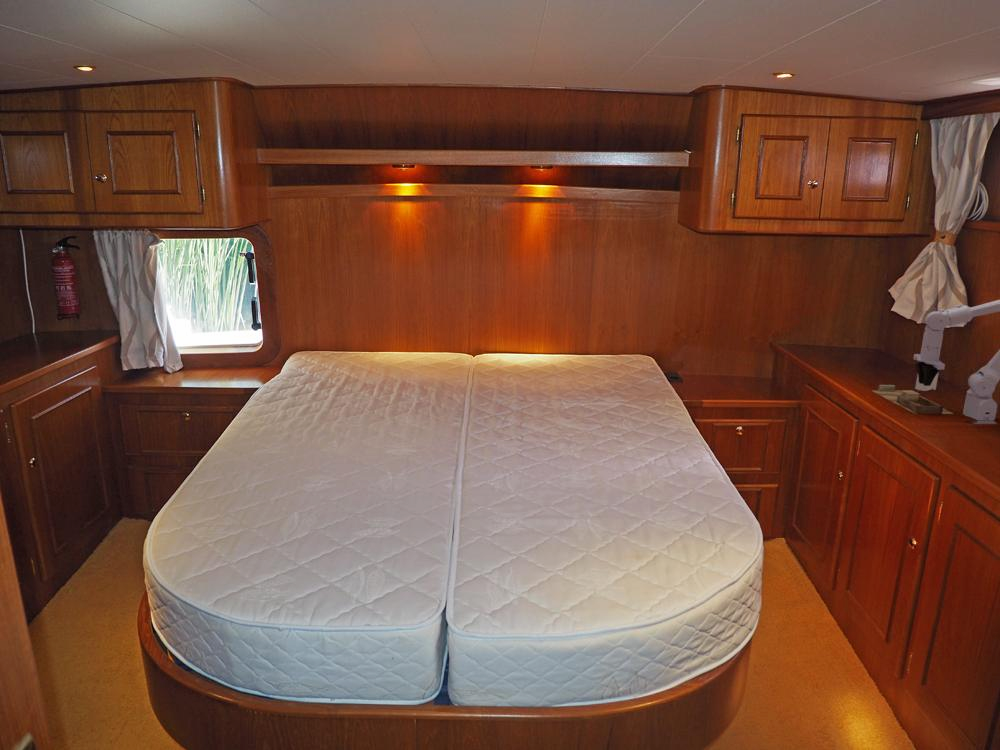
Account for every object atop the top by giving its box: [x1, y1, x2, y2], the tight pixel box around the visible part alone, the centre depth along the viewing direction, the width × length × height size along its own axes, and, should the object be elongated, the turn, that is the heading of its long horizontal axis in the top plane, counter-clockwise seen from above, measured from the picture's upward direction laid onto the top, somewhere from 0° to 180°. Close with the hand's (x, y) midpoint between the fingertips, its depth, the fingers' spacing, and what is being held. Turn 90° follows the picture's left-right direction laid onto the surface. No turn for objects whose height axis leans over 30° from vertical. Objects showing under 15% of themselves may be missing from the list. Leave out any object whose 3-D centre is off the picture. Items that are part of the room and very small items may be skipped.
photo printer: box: [914, 371, 940, 392], centre depth 275 cm, size 10×4×12 cm, turn 125°
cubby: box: [897, 395, 944, 415], centre depth 252 cm, size 13×8×2 cm, turn 2°
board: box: [870, 384, 954, 415], centre depth 259 cm, size 28×14×4 cm, turn 2°
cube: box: [901, 390, 920, 404], centre depth 257 cm, size 4×4×4 cm
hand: (924, 384), depth 249 cm, fingers closed
